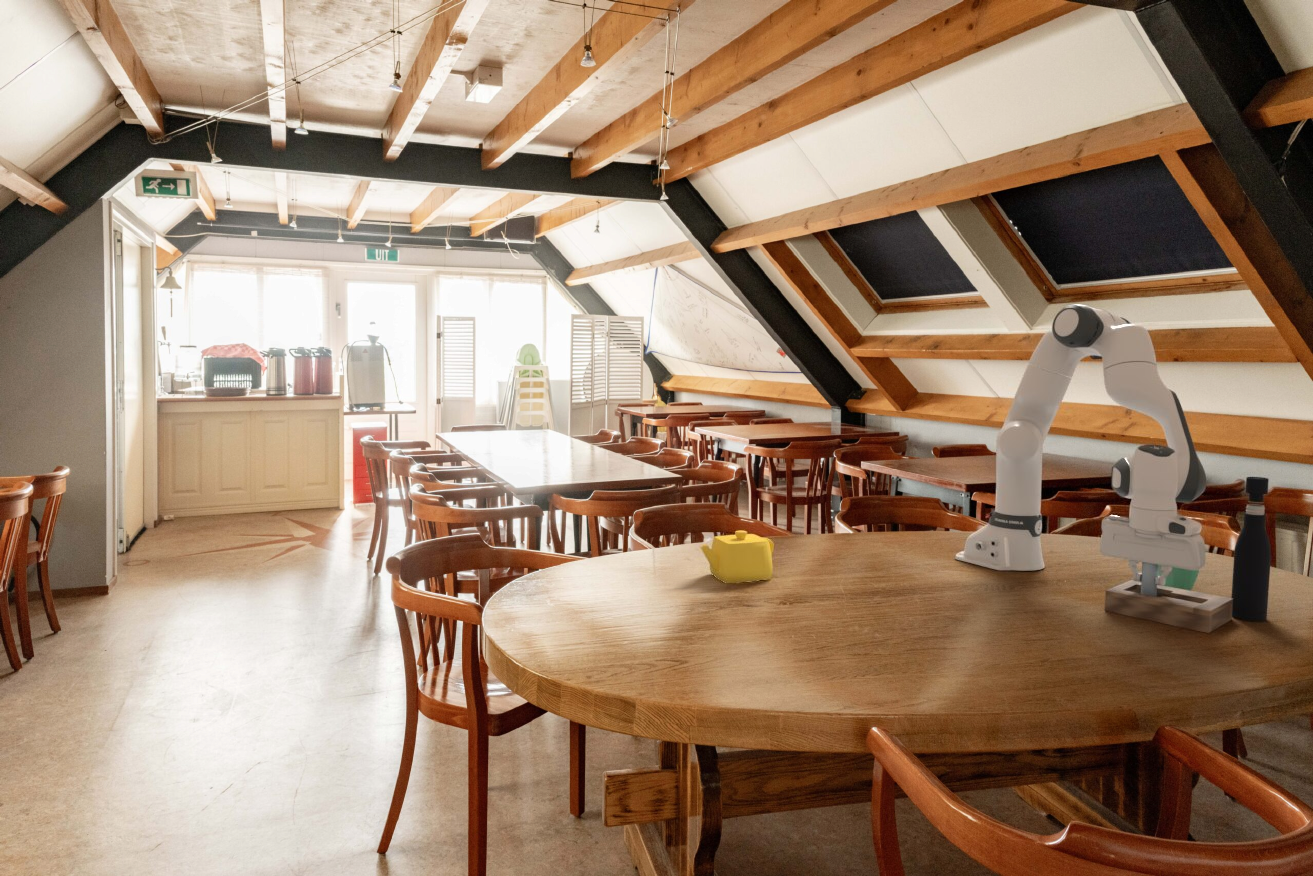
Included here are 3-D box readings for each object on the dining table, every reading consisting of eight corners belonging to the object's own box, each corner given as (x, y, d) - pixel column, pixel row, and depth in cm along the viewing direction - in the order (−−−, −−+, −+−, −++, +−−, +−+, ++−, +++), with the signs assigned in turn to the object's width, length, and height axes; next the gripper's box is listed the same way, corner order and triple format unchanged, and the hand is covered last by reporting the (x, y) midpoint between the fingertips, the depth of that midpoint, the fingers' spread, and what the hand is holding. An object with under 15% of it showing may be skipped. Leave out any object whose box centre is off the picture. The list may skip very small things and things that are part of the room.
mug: (1211, 598, 195) (1214, 555, 194) (1174, 600, 193) (1177, 557, 192) (1162, 582, 210) (1164, 542, 209) (1127, 584, 208) (1129, 544, 207)
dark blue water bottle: (1256, 623, 177) (1265, 480, 174) (1223, 615, 182) (1232, 477, 180) (1273, 619, 180) (1282, 478, 177) (1240, 611, 185) (1249, 475, 183)
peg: (1128, 606, 186) (1131, 552, 185) (1139, 601, 190) (1142, 548, 189) (1156, 612, 182) (1159, 557, 181) (1167, 607, 185) (1170, 553, 184)
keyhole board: (1104, 610, 186) (1105, 590, 185) (1130, 599, 195) (1131, 579, 194) (1208, 633, 171) (1210, 611, 170) (1231, 619, 180) (1233, 598, 179)
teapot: (709, 587, 205) (710, 539, 204) (691, 574, 217) (691, 529, 216) (784, 580, 212) (784, 533, 211) (762, 568, 223) (762, 524, 222)
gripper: (1096, 515, 190) (1093, 576, 191) (1199, 529, 174) (1195, 595, 176) (1108, 512, 194) (1105, 571, 195) (1210, 525, 178) (1206, 589, 180)
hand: (1149, 583), depth 185 cm, fingers closed on peg, 3 cm apart
